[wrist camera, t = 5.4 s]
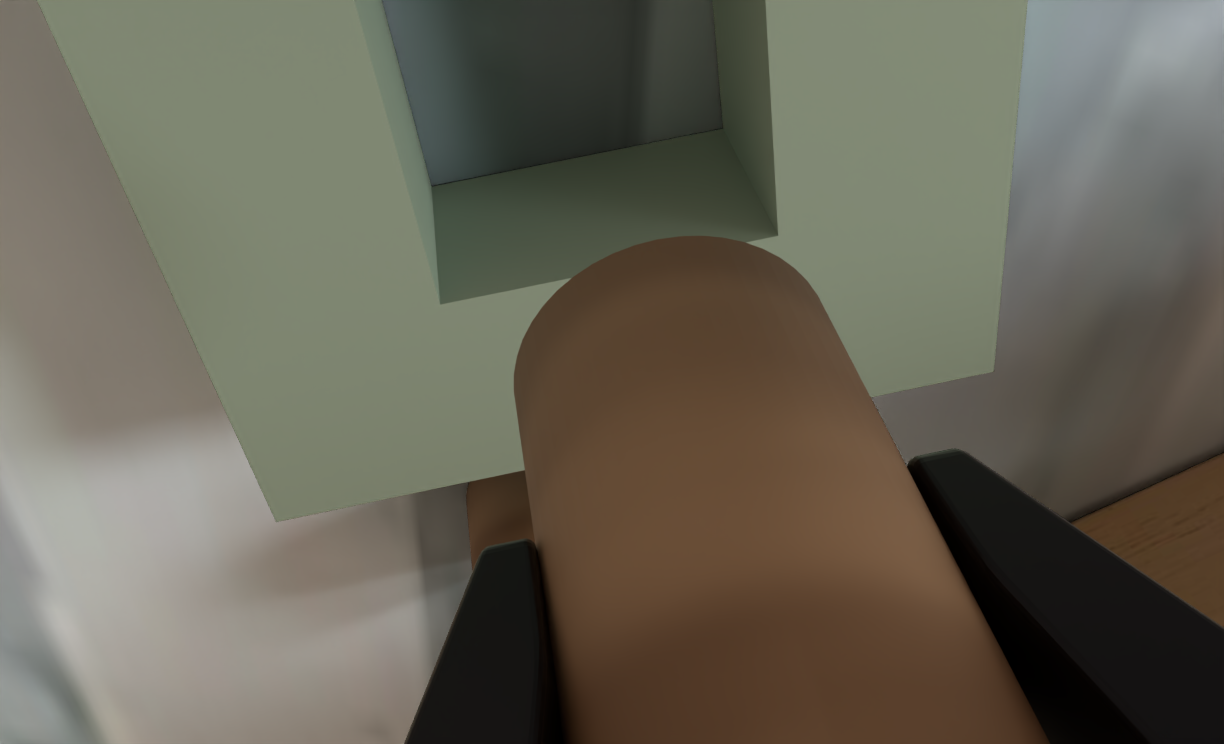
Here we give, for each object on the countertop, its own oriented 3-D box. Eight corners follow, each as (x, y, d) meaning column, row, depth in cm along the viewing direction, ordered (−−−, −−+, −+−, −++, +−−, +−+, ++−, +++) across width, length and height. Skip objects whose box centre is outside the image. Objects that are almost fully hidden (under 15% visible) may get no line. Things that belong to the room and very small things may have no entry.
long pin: (833, 457, 12) (1328, 1560, 6) (543, 517, 12) (725, 1708, 6) (828, 204, 10) (1560, 1437, 4) (484, 275, 10) (656, 1660, 4)
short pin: (618, 528, 25) (653, 677, 22) (482, 557, 25) (497, 711, 22) (599, 425, 23) (632, 573, 20) (452, 456, 23) (463, 610, 20)
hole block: (917, 259, 22) (993, 372, 19) (289, 388, 22) (276, 521, 19) (945, -541, 15) (1076, -539, 12) (-18, -368, 14) (-113, -326, 11)
